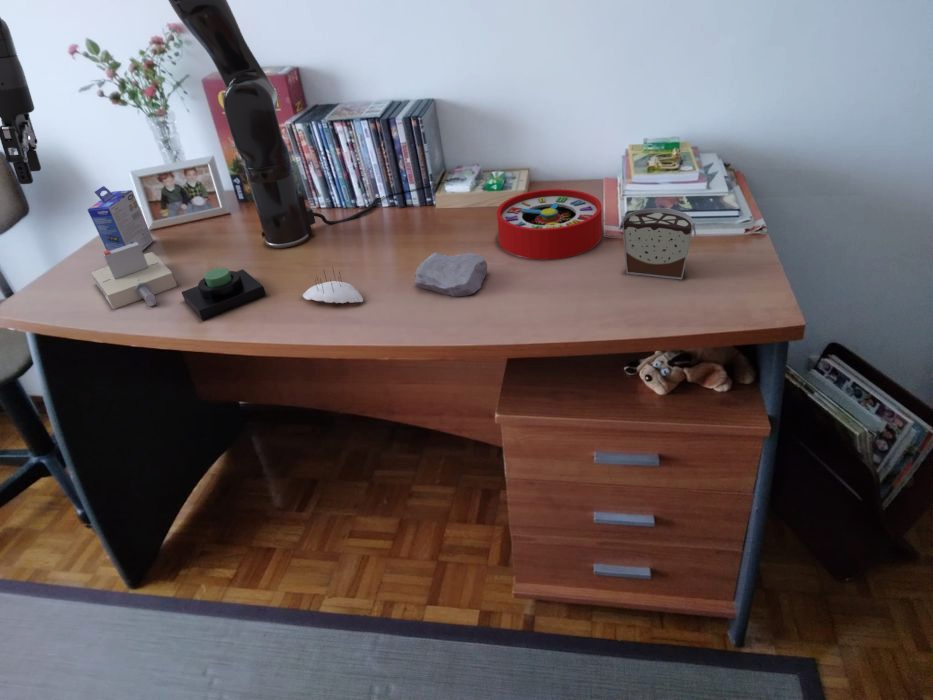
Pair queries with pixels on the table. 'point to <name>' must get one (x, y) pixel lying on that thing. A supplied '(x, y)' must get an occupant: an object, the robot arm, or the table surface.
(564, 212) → the toy clock
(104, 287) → the block
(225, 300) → the button housing
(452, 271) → the stone block
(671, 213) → the food container
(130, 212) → the ink cartridge box
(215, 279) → the push button
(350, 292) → the pincushion
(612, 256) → the table surface
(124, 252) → the pale grey rectangular block
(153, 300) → the spout
